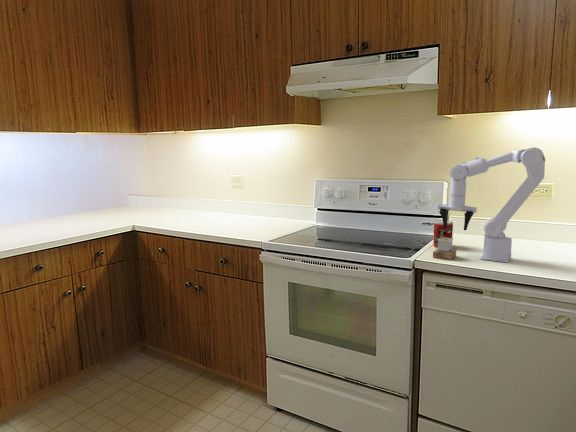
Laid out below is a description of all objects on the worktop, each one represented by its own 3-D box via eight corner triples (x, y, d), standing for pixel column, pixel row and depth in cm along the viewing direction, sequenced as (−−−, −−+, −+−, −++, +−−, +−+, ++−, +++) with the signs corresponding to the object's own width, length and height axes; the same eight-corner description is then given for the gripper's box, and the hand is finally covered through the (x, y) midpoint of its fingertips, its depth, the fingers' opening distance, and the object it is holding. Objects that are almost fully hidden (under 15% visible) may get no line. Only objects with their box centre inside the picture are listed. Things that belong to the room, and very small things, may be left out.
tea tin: (452, 250, 165) (452, 238, 165) (449, 252, 162) (449, 240, 161) (440, 248, 168) (441, 237, 167) (437, 251, 164) (437, 239, 164)
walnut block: (456, 256, 166) (456, 250, 165) (451, 260, 160) (451, 254, 160) (438, 253, 170) (438, 247, 169) (432, 257, 164) (433, 251, 164)
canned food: (431, 247, 180) (432, 222, 178) (434, 243, 187) (435, 219, 185) (450, 249, 176) (451, 223, 175) (453, 245, 183) (454, 220, 182)
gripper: (479, 195, 164) (476, 229, 167) (441, 192, 172) (439, 224, 175) (475, 197, 159) (472, 232, 161) (436, 194, 167) (434, 227, 169)
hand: (455, 228), depth 168 cm, fingers open, 7 cm apart
